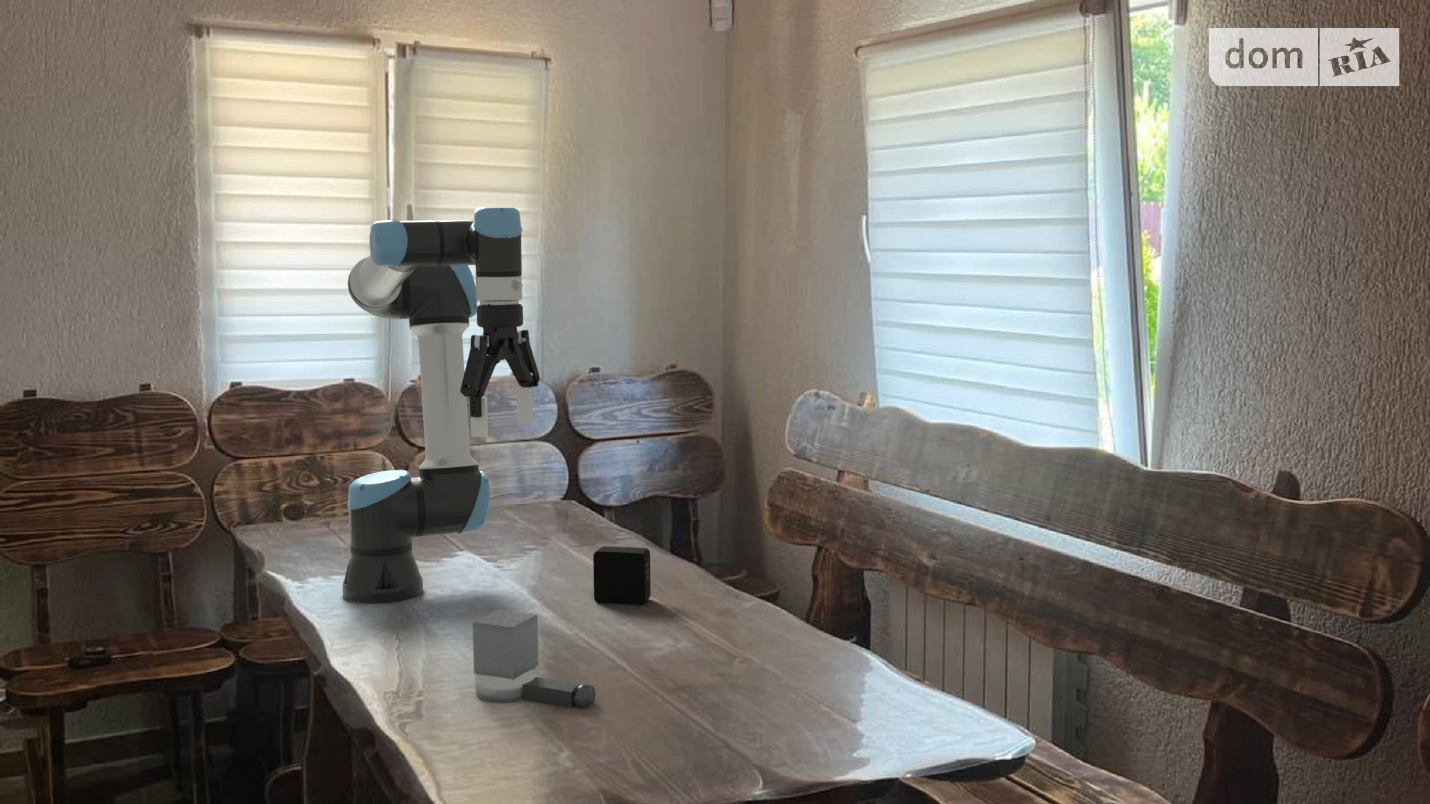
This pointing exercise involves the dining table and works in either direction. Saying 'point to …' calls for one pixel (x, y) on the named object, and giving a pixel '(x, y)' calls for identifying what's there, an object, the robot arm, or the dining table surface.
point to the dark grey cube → (505, 644)
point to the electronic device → (621, 575)
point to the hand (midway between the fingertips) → (502, 431)
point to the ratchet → (534, 690)
